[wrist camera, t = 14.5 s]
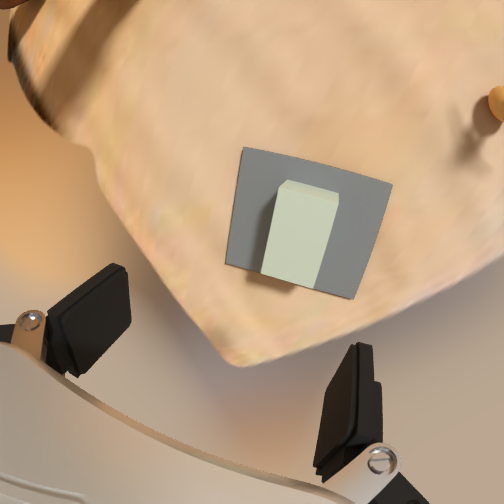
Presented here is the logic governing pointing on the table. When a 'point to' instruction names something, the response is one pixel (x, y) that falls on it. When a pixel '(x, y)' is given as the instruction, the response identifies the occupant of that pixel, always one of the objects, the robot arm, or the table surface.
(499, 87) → the figurine
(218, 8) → the table surface
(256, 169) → the mat
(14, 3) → the brown tall rounded piece
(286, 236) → the card box
